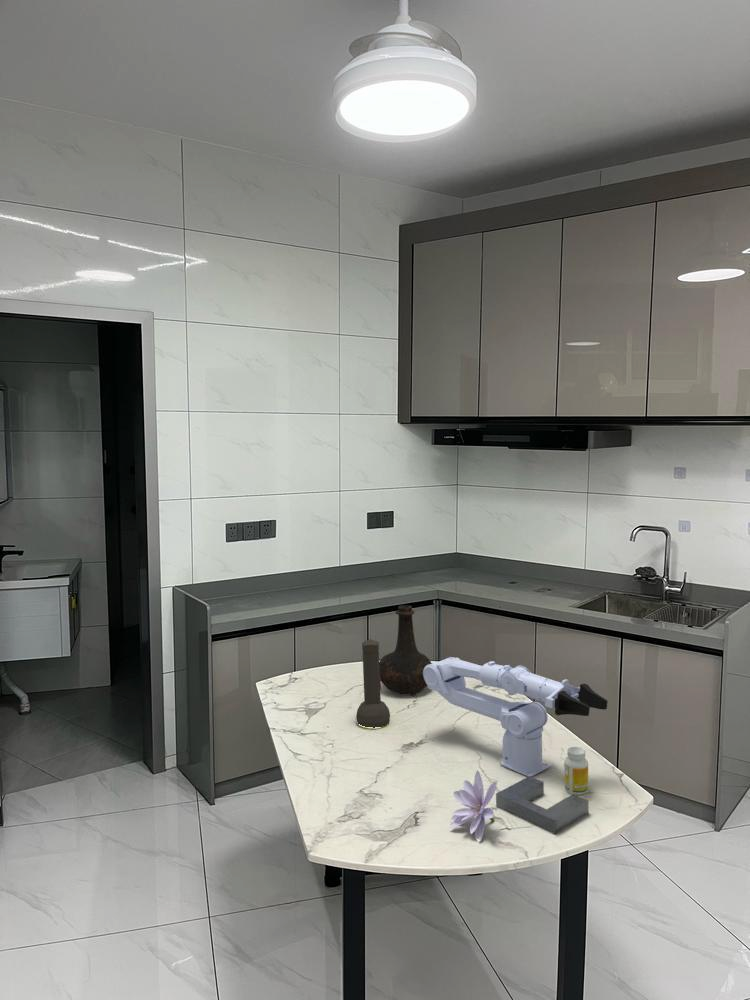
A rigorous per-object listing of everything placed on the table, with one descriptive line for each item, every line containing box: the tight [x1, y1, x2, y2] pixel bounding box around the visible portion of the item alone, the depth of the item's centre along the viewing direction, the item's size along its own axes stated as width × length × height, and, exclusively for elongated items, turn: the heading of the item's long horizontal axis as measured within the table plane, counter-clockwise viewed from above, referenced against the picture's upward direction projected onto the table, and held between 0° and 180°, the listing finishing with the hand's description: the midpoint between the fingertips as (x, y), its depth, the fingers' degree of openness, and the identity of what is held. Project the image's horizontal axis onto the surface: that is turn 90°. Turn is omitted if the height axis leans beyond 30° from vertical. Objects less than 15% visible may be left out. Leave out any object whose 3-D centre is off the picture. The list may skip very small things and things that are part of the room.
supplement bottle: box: [563, 746, 589, 796], centre depth 174 cm, size 5×5×10 cm
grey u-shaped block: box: [495, 776, 590, 835], centre depth 166 cm, size 16×12×3 cm
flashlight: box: [355, 638, 391, 728], centre depth 217 cm, size 10×25×10 cm
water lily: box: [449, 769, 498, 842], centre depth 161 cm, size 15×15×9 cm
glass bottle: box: [379, 604, 433, 695], centre depth 243 cm, size 18×18×28 cm
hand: (597, 708), depth 170 cm, fingers open, 7 cm apart
